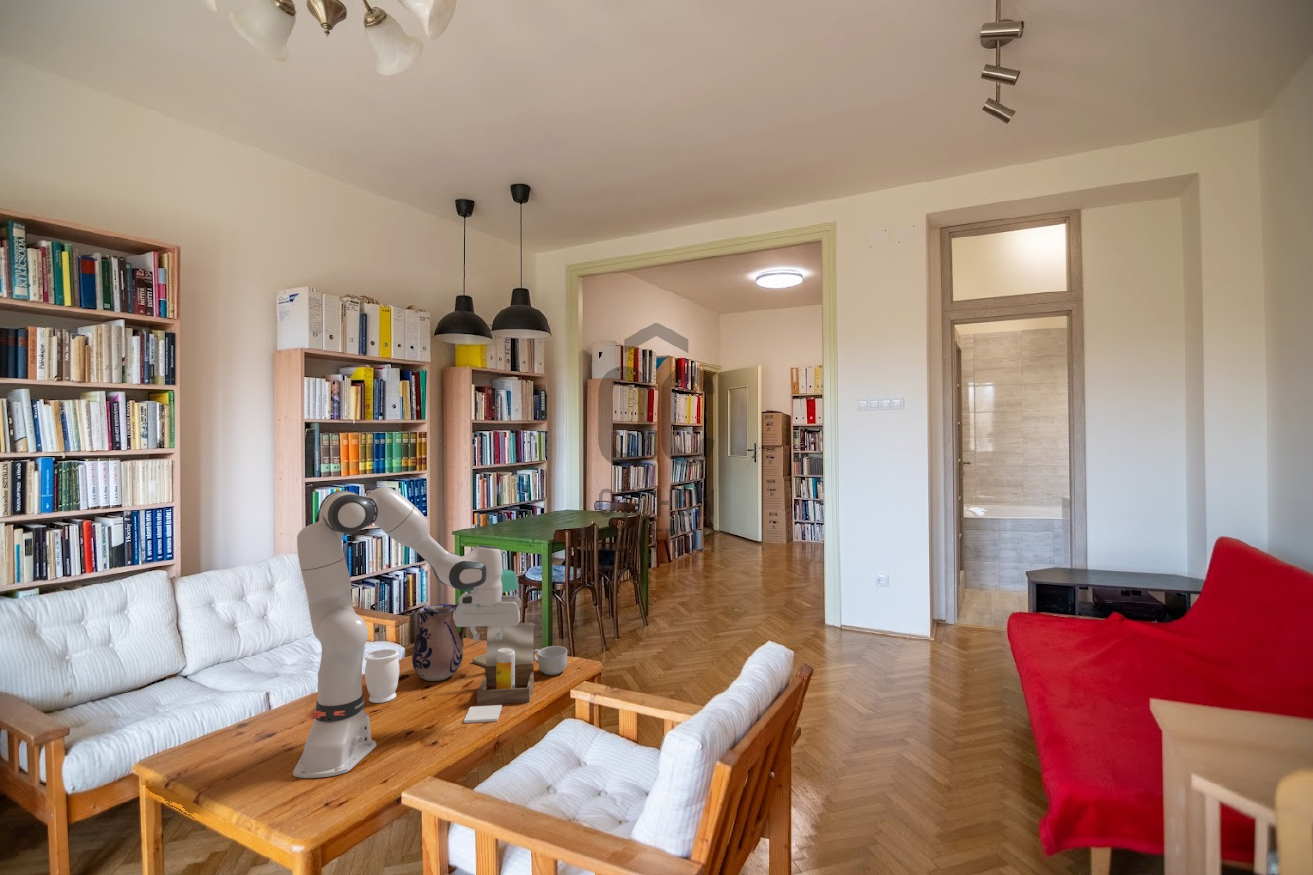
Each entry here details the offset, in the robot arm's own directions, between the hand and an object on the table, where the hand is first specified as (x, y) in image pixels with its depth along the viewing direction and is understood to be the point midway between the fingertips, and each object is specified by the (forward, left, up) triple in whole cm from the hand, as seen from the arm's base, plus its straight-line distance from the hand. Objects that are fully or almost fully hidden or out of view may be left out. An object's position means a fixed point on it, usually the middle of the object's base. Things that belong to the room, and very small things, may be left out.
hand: (487, 639), depth 201 cm
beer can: (+11, -4, -22) cm, 25 cm away
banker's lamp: (+42, +4, -22) cm, 47 cm away
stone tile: (-4, +1, -22) cm, 23 cm away
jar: (+14, +37, -22) cm, 45 cm away
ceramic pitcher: (+33, +22, -22) cm, 45 cm away
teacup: (+31, -17, -22) cm, 42 cm away
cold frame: (+14, -4, -22) cm, 27 cm away
